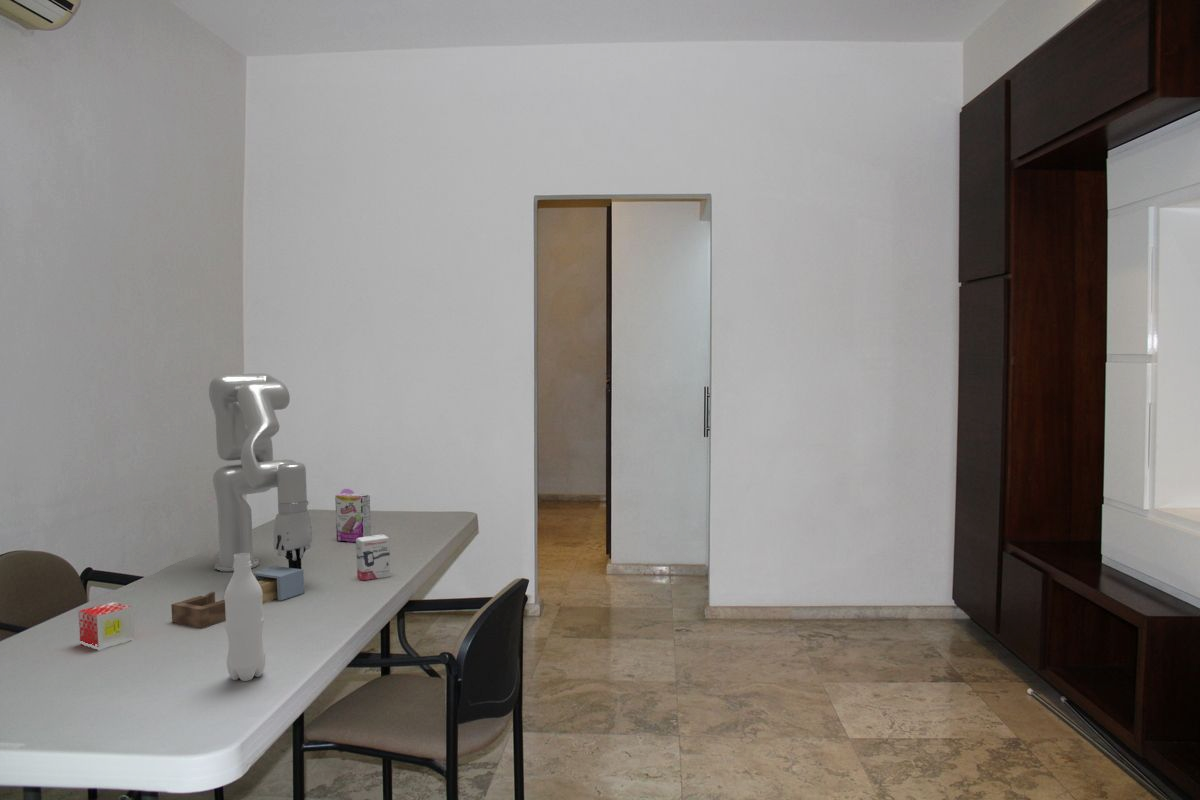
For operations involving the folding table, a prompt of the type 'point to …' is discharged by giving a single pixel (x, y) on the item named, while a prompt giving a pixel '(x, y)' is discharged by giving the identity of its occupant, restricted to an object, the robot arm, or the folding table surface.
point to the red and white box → (106, 624)
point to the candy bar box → (352, 516)
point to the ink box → (373, 557)
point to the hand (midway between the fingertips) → (295, 573)
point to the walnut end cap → (199, 611)
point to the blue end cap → (284, 580)
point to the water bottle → (244, 621)
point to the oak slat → (269, 589)
